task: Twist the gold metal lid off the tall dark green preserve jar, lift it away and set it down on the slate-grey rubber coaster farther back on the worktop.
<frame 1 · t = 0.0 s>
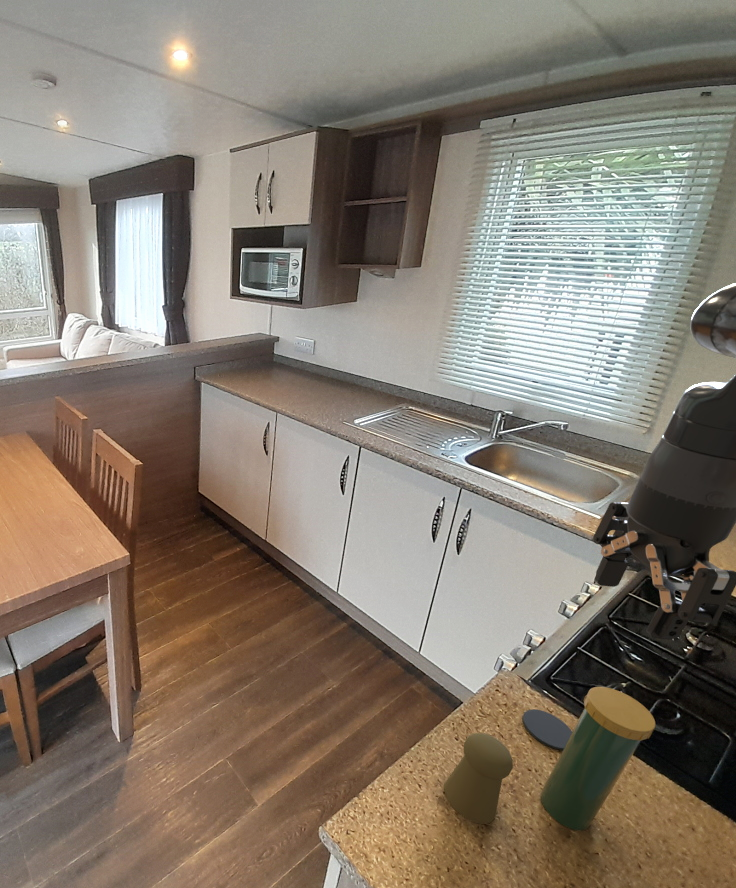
hand: (630, 608, 55), 31 cm above the table, tool pointing down, fingers open, 8 cm apart
cork: (468, 800, 65), on the table
jar lid: (619, 710, 56), point 19 cm above the table, screwed on, not yet turned
coaster: (547, 730, 74), on the table
preserve jar: (564, 808, 64), on the table
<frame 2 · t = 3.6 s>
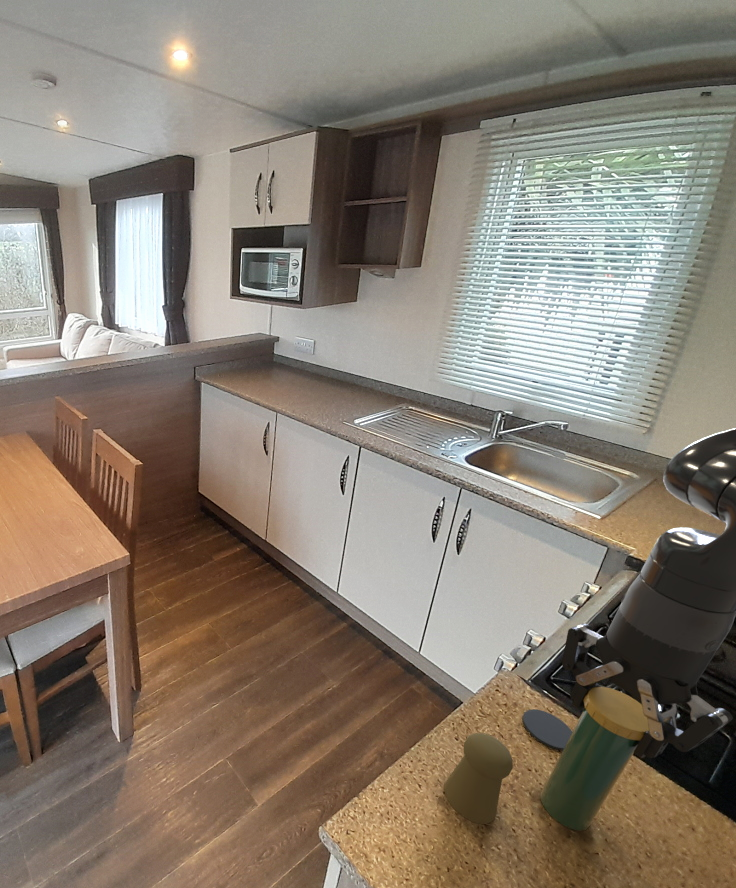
hand: (609, 727, 58), 16 cm above the table, tool pointing down, fingers closed on jar lid, 6 cm apart
jar lid: (619, 710, 56), point 19 cm above the table, screwed on, not yet turned, touching gripper
everything else where it was.
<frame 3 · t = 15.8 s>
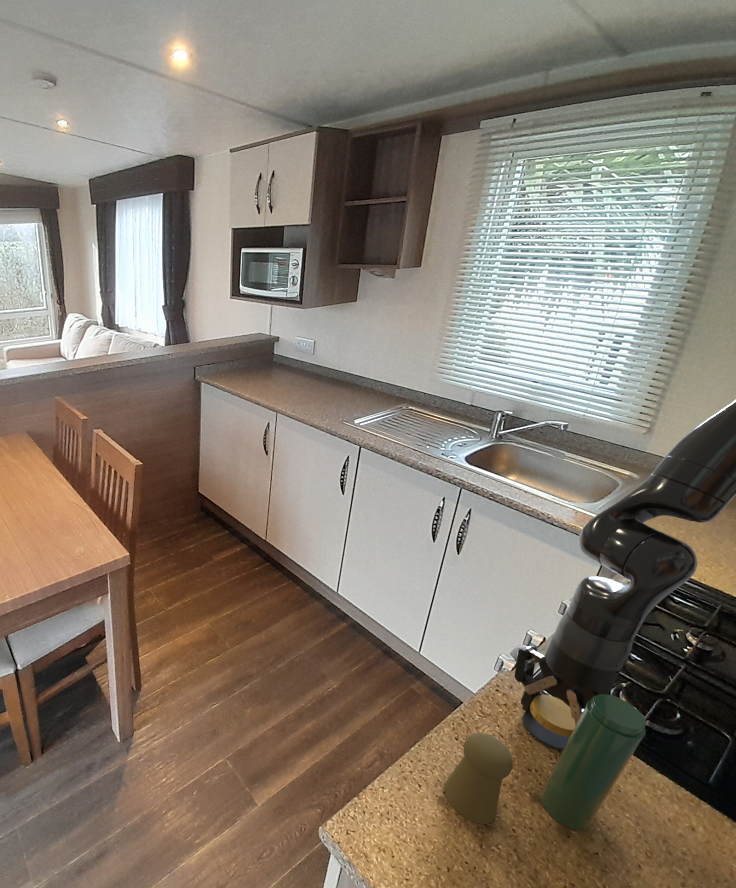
hand: (549, 727, 74), 1 cm above the table, tool pointing down, fingers closed on jar lid, 5 cm apart
jar lid: (556, 713, 72), point 4 cm above the table, off its thread, touching gripper
everything else where it was.
when the fingers open (1 cm above the table, at t = 20.7 s): jar lid drops 3 cm, resting on coaster.
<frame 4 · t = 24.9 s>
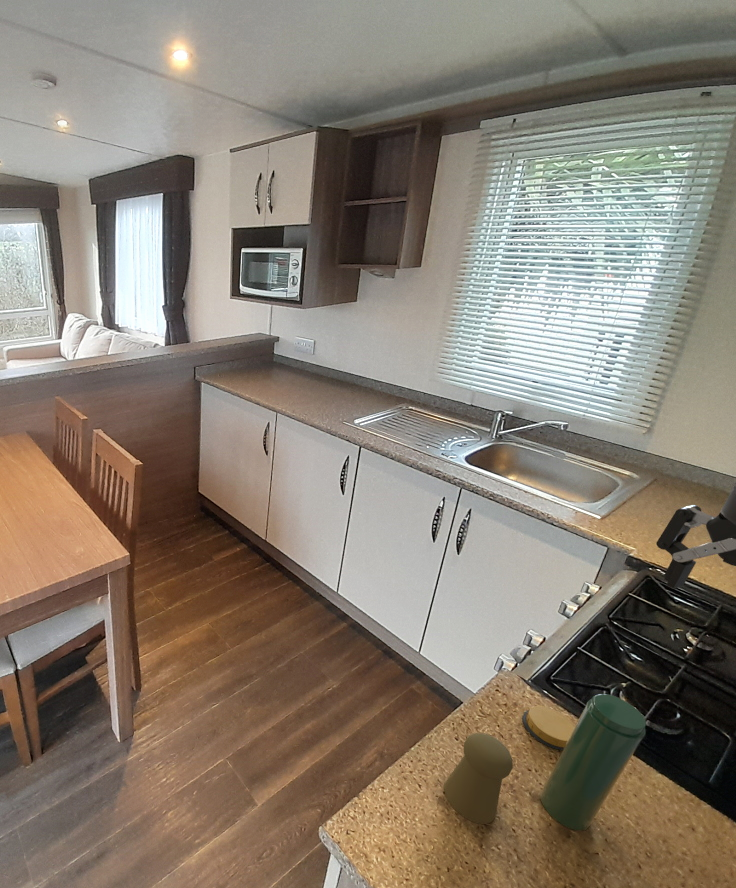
hand: (721, 609, 56), 30 cm above the table, tool pointing down, fingers open, 8 cm apart
jar lid: (551, 724, 73), point 2 cm above the table, off its thread, touching coaster
everything else where it was.
at the end: jar lid 0.2 cm off-centre on the coaster, point 1.6 cm above the coaster's base; jar lid point 1.6 cm above the table; the gripper is holding nothing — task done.
